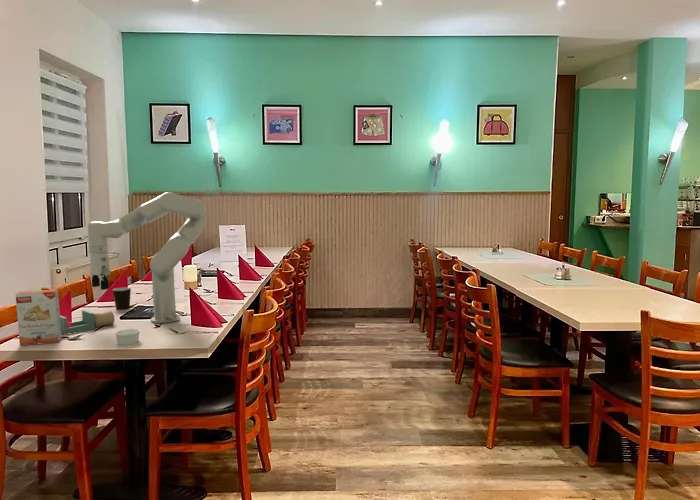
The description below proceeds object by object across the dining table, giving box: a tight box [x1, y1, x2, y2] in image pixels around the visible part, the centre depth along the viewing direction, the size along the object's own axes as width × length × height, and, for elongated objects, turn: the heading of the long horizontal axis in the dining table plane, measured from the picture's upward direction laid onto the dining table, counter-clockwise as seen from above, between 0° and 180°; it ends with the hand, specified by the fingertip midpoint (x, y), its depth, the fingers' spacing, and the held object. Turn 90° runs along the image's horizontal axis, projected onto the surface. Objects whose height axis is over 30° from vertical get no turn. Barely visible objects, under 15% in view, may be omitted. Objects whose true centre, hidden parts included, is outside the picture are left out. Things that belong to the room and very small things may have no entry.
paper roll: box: [94, 310, 115, 328], centre depth 245 cm, size 8×6×6 cm
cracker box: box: [15, 289, 62, 346], centre depth 219 cm, size 14×6×21 cm, turn 106°
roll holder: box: [60, 309, 96, 335], centre depth 238 cm, size 10×12×7 cm
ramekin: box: [114, 328, 140, 346], centre depth 218 cm, size 9×9×4 cm
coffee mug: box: [112, 287, 132, 311], centre depth 281 cm, size 12×9×10 cm
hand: (100, 287), depth 244 cm, fingers open, 9 cm apart
